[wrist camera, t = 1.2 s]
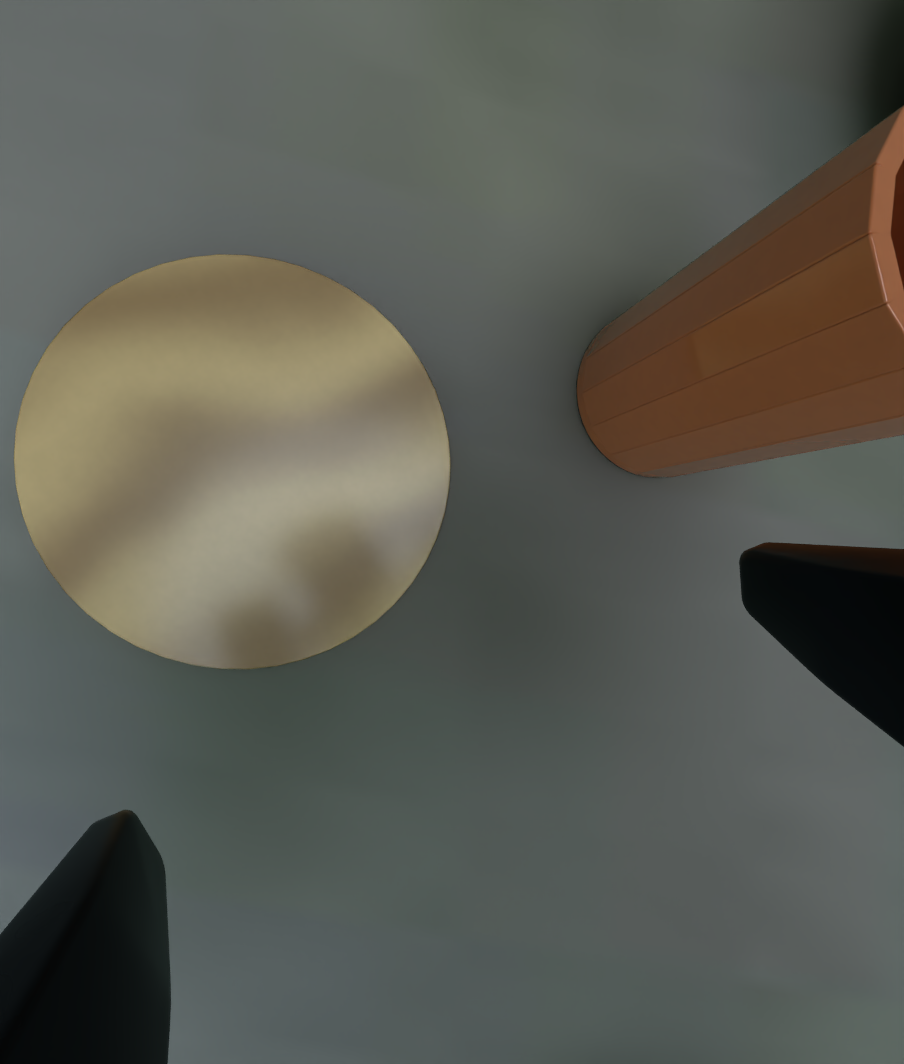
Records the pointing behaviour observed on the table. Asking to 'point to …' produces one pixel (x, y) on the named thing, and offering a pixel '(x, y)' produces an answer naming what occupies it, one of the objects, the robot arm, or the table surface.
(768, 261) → the terracotta pot
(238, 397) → the beige flat disc
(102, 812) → the table surface
